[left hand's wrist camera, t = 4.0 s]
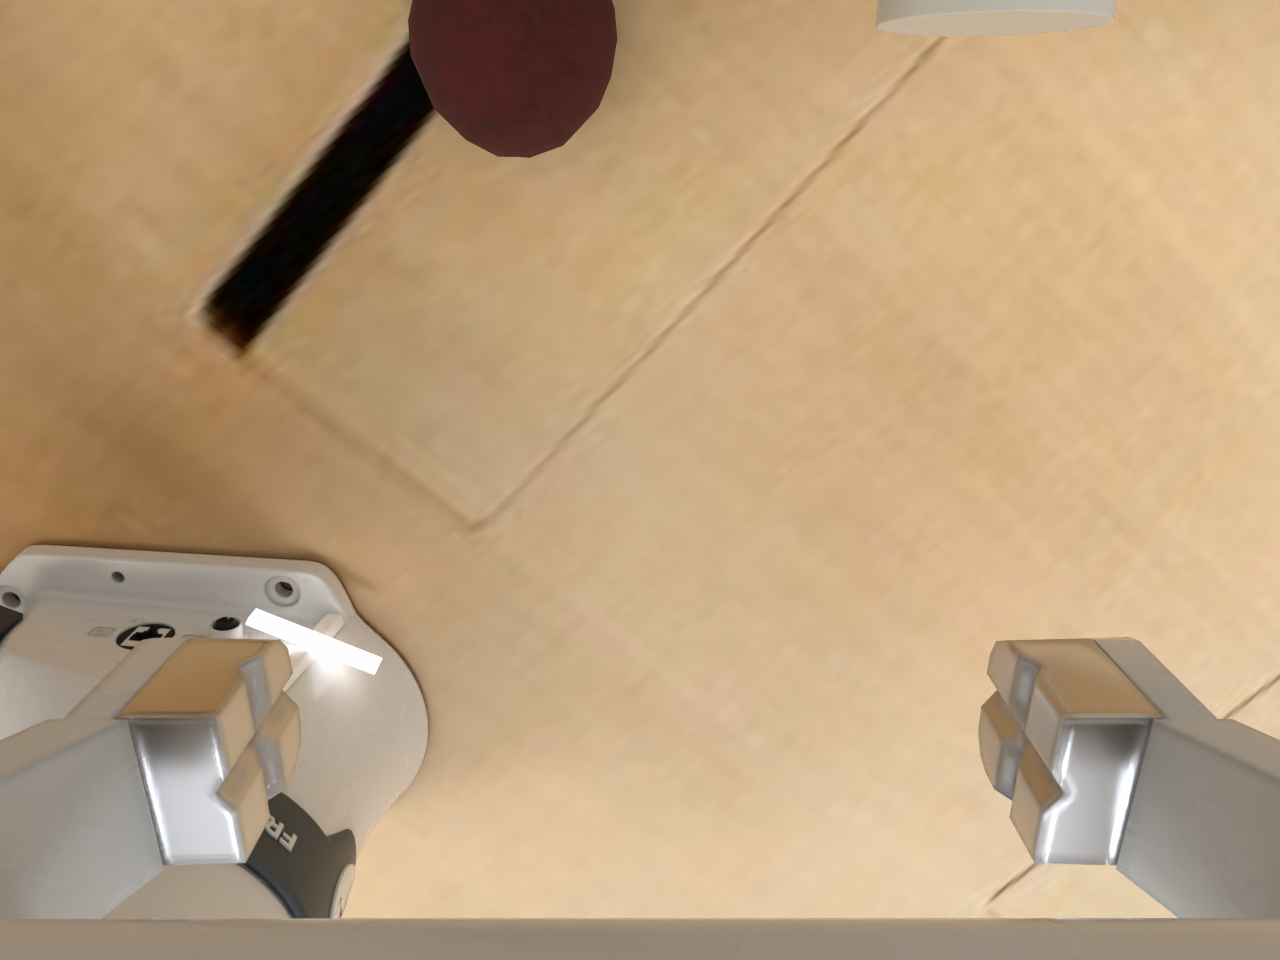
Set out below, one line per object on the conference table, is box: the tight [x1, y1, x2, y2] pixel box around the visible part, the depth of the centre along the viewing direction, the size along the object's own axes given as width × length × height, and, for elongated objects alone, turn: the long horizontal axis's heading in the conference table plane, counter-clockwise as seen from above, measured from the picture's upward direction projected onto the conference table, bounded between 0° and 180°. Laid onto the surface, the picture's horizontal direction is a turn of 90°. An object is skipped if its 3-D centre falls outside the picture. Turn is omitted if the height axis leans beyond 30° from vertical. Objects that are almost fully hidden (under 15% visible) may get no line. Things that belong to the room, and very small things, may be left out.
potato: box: [408, 0, 617, 158], centre depth 32 cm, size 7×8×7 cm
